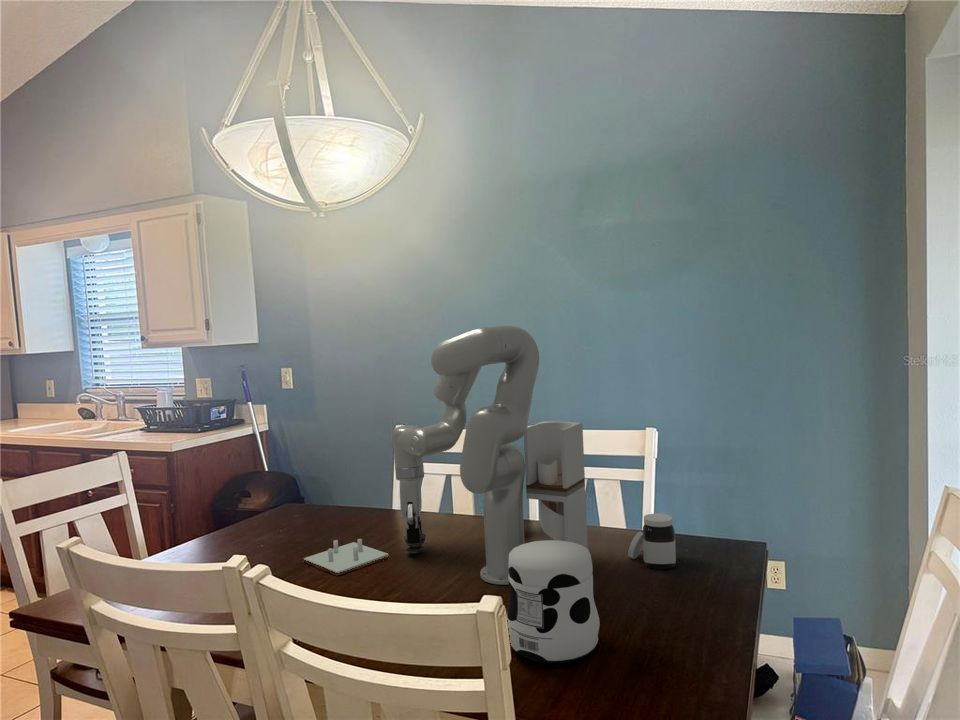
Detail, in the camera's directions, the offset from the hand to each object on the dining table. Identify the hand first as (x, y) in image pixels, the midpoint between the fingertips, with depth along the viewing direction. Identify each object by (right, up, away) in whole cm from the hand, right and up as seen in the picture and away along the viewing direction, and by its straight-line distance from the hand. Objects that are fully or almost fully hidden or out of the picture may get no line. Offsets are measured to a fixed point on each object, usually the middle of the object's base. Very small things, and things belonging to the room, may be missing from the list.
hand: (414, 538), depth 179 cm
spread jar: (+60, -2, -14) cm, 61 cm away
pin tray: (-18, -5, -1) cm, 19 cm away
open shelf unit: (+37, -3, -12) cm, 39 cm away
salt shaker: (0, -3, 0) cm, 3 cm away
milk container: (+31, -6, -54) cm, 63 cm away
